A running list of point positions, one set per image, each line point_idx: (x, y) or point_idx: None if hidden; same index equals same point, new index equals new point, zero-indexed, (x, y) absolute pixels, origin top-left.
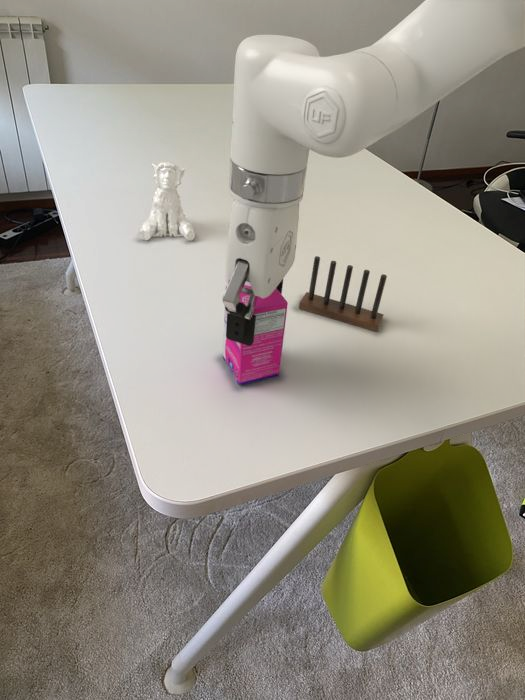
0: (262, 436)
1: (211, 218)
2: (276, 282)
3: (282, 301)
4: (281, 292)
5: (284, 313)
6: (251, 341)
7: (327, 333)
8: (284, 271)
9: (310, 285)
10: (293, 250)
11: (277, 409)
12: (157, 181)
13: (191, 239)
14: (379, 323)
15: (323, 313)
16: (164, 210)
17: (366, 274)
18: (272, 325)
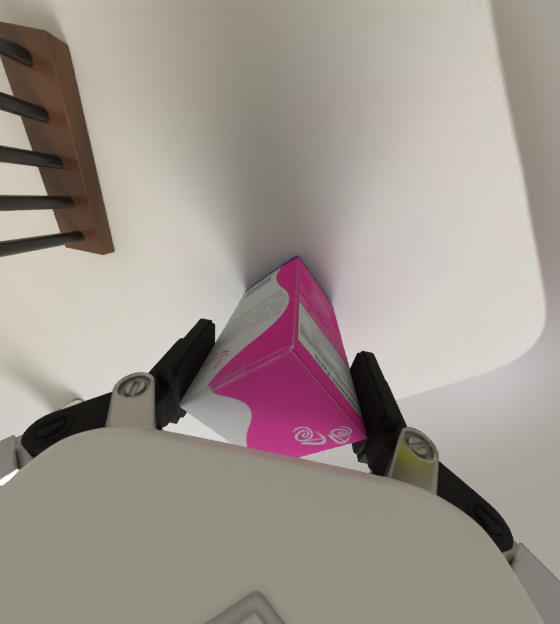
0: (437, 257)
1: (19, 390)
2: (368, 524)
3: (294, 365)
4: (185, 338)
5: (299, 328)
6: (375, 360)
7: (147, 184)
8: (242, 505)
9: (50, 246)
10: (13, 587)
11: (375, 244)
12: None
13: (79, 401)
14: (35, 29)
15: (98, 202)
16: None
17: None
18: (316, 333)
